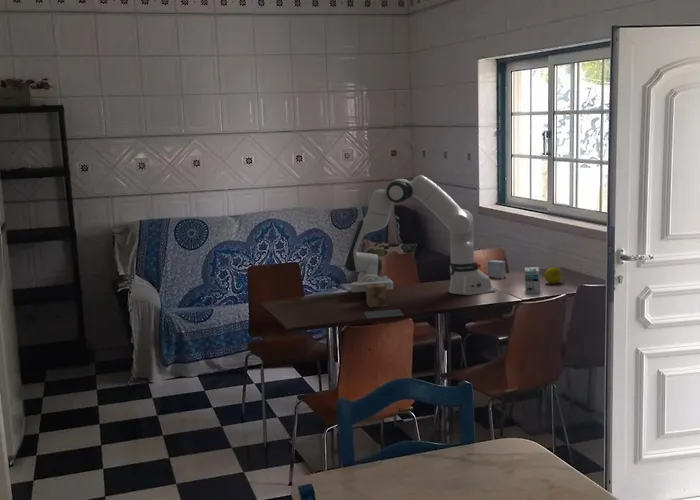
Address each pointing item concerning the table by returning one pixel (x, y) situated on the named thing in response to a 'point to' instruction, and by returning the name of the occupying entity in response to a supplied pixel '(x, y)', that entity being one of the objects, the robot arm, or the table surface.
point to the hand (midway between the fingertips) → (373, 289)
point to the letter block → (376, 294)
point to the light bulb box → (532, 280)
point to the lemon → (553, 275)
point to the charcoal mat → (383, 313)
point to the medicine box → (496, 269)
